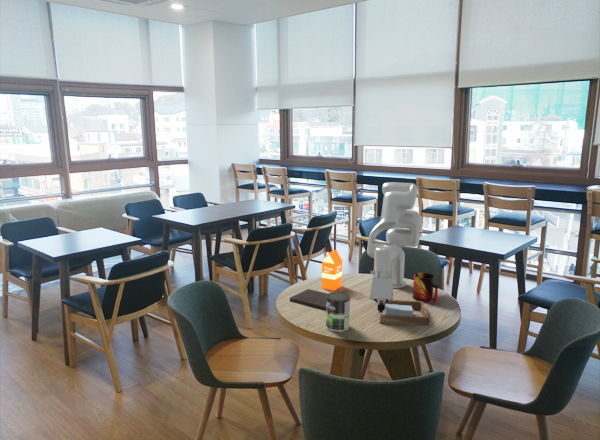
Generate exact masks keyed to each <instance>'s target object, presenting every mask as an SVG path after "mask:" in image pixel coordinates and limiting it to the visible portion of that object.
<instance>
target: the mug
mask: <svg viewBox="0 0 600 440" xmlns="http://www.w3.org/2000/svg"><path fill="white" fill-rule="evenodd" d="M434 281H435V276H434V275H433V274H431V273H427V272H417V273H414V275H413V287H412V288H413V289H412V298H413V301H423V303H429V302H434V303H435V304H437V303H438V293H439V291H438V290H439V285H438V284H435V283H434Z"/></svg>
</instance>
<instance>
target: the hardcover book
mask: <svg viewBox="0 0 600 440" xmlns="http://www.w3.org/2000/svg"><path fill="white" fill-rule="evenodd" d="M327 294H328V293H326V292H323V291H318V290H314V289H309V288H307V289H305V290H303V291H301V292H299V293H297V294H295V295H293V296H290V297H289V301H290V302H292V303H296V304H299V305H303V306H307V307H311V308H314V309H318V310H322V311H325V312H326V295H327Z"/></svg>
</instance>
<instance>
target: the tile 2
mask: <svg viewBox="0 0 600 440" xmlns="http://www.w3.org/2000/svg"><path fill="white" fill-rule="evenodd" d="M413 314H414V309H412V306H408V305H399V316H414V315H413Z"/></svg>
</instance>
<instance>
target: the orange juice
mask: <svg viewBox="0 0 600 440" xmlns="http://www.w3.org/2000/svg"><path fill="white" fill-rule="evenodd" d="M321 265H322V266H321V267H322V268H321V289H325V290H331V291H336V290H337V289H339V288H341V287H342V286H343V284H342V283H343V281H342V280H343V259H342V258H341V255H340V254H339V251H338V250H337V249H334V250H332V251H329V252H328V253H327V255H326V256H325V257H324V259H323V260H322V262H321Z"/></svg>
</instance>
